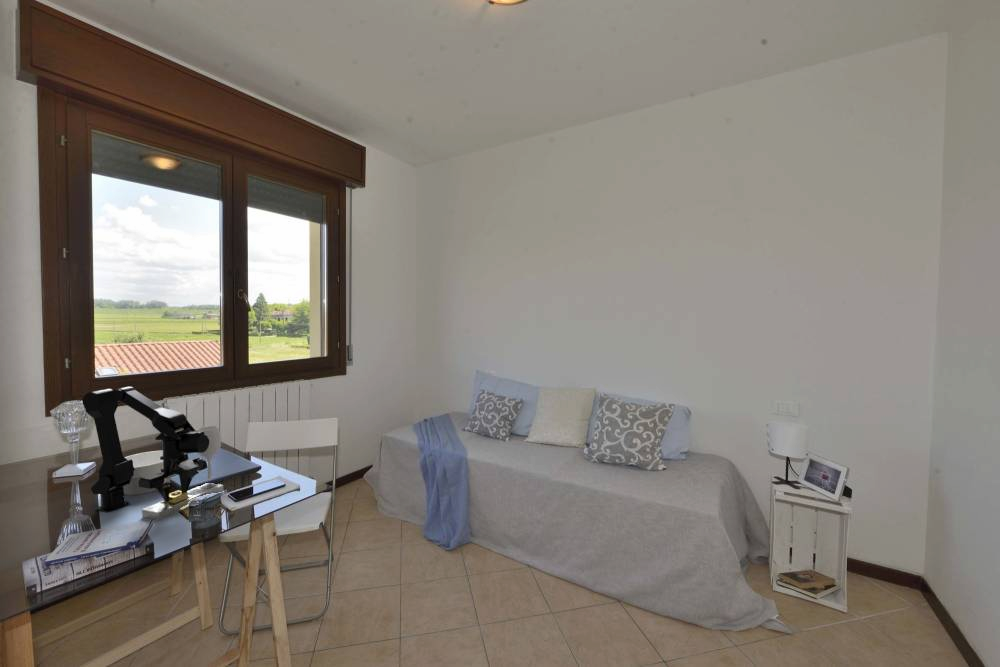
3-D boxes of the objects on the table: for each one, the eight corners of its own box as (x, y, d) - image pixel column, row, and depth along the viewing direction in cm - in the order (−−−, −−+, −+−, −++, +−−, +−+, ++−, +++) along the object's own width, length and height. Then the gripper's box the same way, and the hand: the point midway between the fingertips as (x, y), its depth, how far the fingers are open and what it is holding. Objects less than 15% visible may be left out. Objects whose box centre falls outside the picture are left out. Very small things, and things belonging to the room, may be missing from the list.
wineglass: (229, 479, 167) (226, 425, 166) (208, 488, 159) (205, 432, 157) (211, 476, 169) (209, 424, 168) (190, 485, 161) (187, 430, 160)
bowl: (105, 489, 158) (103, 460, 158) (168, 473, 174) (167, 447, 173) (120, 503, 147) (119, 472, 146) (186, 484, 162) (185, 456, 162)
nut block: (164, 510, 142) (163, 495, 141) (178, 504, 146) (177, 489, 146) (174, 512, 140) (173, 496, 140) (188, 506, 145) (187, 491, 144)
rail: (142, 517, 137) (142, 509, 137) (208, 489, 158) (207, 482, 158) (159, 520, 135) (158, 512, 134) (223, 491, 155) (223, 484, 155)
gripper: (161, 464, 131) (164, 514, 132) (218, 445, 149) (220, 489, 150) (135, 460, 134) (138, 509, 135) (194, 442, 152) (196, 485, 153)
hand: (176, 498), depth 143 cm, fingers open, 5 cm apart
